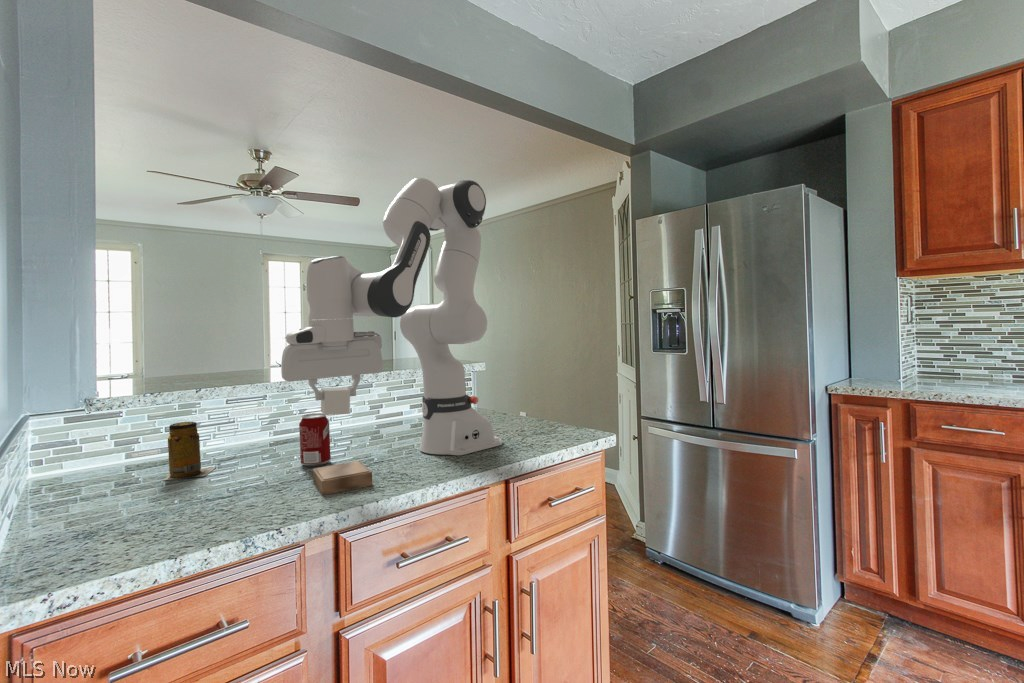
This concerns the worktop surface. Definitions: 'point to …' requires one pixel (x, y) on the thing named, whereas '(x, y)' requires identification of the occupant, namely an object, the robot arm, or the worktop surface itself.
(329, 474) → the plinth
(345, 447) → the worktop surface
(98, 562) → the worktop surface
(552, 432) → the worktop surface
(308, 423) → the soda can
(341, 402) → the cube
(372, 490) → the worktop surface
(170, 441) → the condiment
